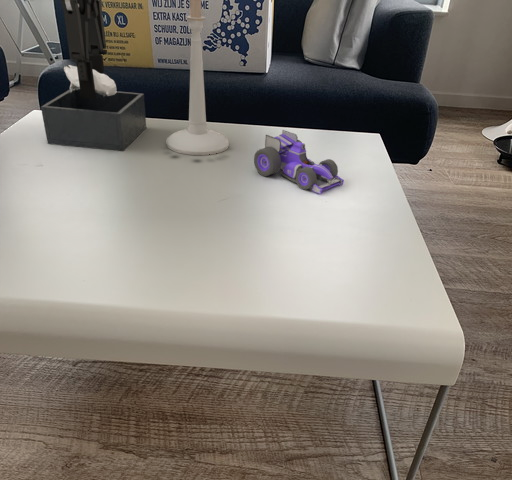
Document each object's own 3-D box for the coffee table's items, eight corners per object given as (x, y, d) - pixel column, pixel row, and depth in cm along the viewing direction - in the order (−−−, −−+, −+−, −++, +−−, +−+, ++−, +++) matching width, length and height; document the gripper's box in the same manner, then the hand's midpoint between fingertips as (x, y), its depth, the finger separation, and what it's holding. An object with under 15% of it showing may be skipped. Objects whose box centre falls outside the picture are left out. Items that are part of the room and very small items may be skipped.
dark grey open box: (47, 143, 108) (40, 106, 104) (77, 121, 121) (72, 87, 116) (123, 151, 107) (119, 113, 103) (146, 127, 119) (143, 93, 115)
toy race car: (315, 197, 94) (319, 159, 90) (252, 172, 102) (254, 136, 98) (347, 183, 99) (353, 148, 95) (286, 160, 107) (289, 126, 103)
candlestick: (233, 137, 117) (237, -31, 98) (222, 158, 107) (224, -26, 88) (175, 132, 118) (168, -36, 99) (158, 151, 108) (147, -31, 89)
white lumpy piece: (66, 103, 108) (111, 95, 105) (56, 65, 105) (102, 55, 103) (79, 102, 112) (122, 94, 110) (70, 66, 110) (114, 57, 107)
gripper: (76, -45, 87) (95, 107, 101) (114, -50, 102) (126, 84, 116) (31, -48, 88) (57, 104, 102) (75, -52, 102) (92, 82, 116)
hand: (94, 93), depth 109 cm, fingers closed on white lumpy piece, 5 cm apart
